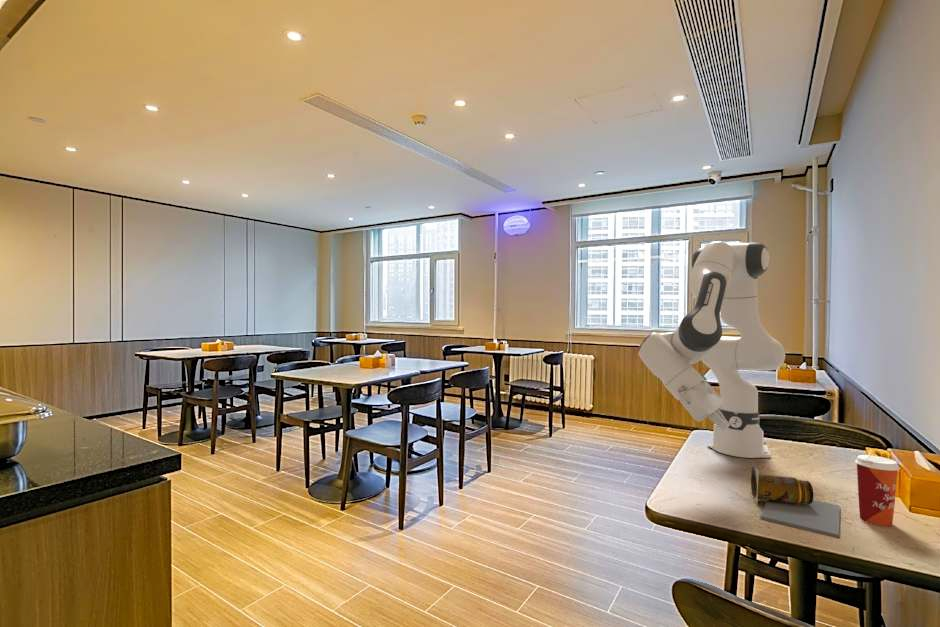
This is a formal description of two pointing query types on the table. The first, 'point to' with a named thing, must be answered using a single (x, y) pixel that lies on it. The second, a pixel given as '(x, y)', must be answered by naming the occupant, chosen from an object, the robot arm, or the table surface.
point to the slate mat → (805, 516)
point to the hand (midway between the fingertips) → (726, 427)
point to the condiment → (780, 488)
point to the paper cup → (876, 489)
